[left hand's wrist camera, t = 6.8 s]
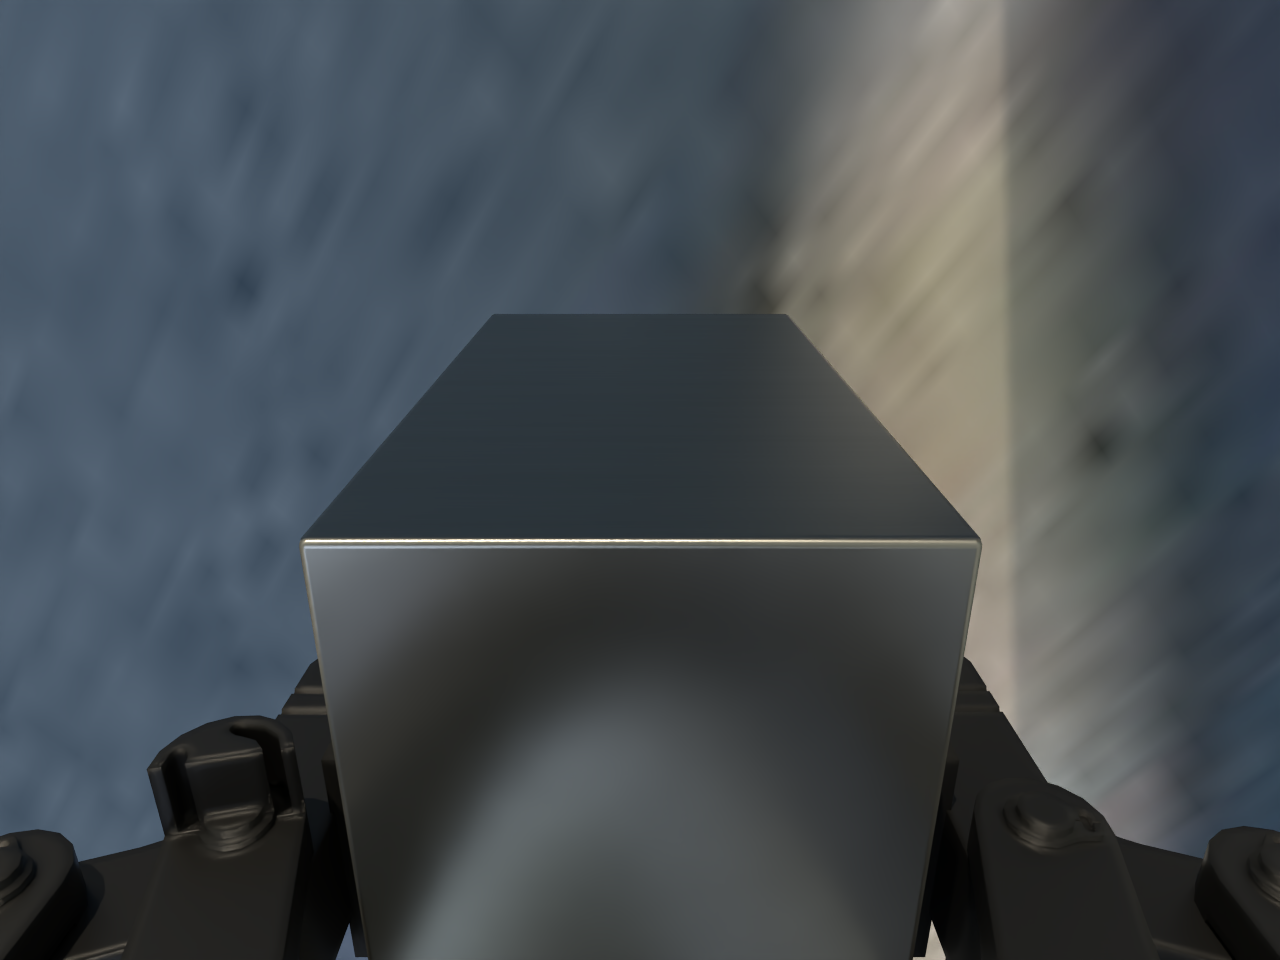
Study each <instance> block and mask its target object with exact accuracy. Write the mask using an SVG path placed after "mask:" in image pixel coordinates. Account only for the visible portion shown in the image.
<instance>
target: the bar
mask: <svg viewBox="0 0 1280 960" xmlns="http://www.w3.org/2000/svg"><path fill="white" fill-rule="evenodd" d="M299 548H300V554H301V560H302V566H303V572H304V578H305V584H306V590H307V596H308V602H309V608H310V614H311V620H312V626H313V632H314V638H315V644H316V650H317V656H318V661H319V667H320V673H321V679H322V685H323V691H324V697H325V703H326V709H327V715H328V721H329V727H330V733H331V739H332V745H333V751H334V757H335V763H336V769H337V775H338V781H339V787H340V793H341V799H342V805H343V811H344V817H345V823H346V829H347V835H348V841H349V847H350V853H351V859H352V865H353V871H354V877H355V883H356V889H357V895H358V901H359V907H360V913H361V918H362V924H363V930H364V936H365V942H366V948H367V954H368V960H913V954H914V948H915V942H916V937H917V931H918V925H919V919H920V913H921V907H922V901H923V895H924V889H925V883H926V877H927V871H928V865H929V859H930V853H931V847H932V841H933V835H934V829H935V823H936V818H937V812H938V806H939V800H940V794H941V788H942V782H943V776H944V770H945V764H946V758H947V752H948V746H949V740H950V734H951V728H952V722H953V716H954V710H955V704H956V698H957V693H958V687H959V681H960V675H961V669H962V663H963V657H964V651H965V645H966V639H967V633H968V627H969V621H970V615H971V609H972V603H973V597H974V591H975V585H976V579H977V574H978V568H979V562H980V556H981V550H982V543H981V539H980V537H979V536H978V535H977V534H976V533H975V532H974V530H973V529H972V528H971V527H970V526H969V525H968V524H967V522H966V521H965V520H964V519H963V518H962V517H961V515H960V514H959V513H958V512H957V511H956V510H955V508H954V507H953V506H952V505H951V504H950V503H949V501H948V500H947V499H946V498H945V497H944V496H943V494H942V493H941V492H940V491H939V490H938V489H937V488H936V486H935V485H934V484H933V483H932V482H931V481H930V479H929V478H928V477H927V476H926V475H925V474H924V472H923V471H922V470H921V469H920V468H919V467H918V465H917V464H916V463H915V462H914V461H913V460H912V458H911V457H910V456H909V455H908V454H907V453H906V452H905V450H904V449H903V448H902V447H901V446H900V445H899V443H898V442H897V441H896V440H895V439H894V438H893V436H892V435H891V434H890V433H889V432H888V431H887V429H886V428H885V427H884V426H883V425H882V424H881V422H880V421H879V420H878V419H877V418H876V417H875V416H874V414H873V413H872V412H871V411H870V410H869V409H868V407H867V406H866V405H865V404H864V403H863V402H862V400H861V399H860V398H859V397H858V396H857V395H856V393H855V392H854V391H853V390H852V389H851V388H850V386H849V385H848V384H847V383H846V382H845V381H844V380H843V378H842V377H841V376H840V375H839V374H838V373H837V371H836V370H835V369H834V368H833V367H832V366H831V364H830V363H829V362H828V361H827V360H826V359H825V357H824V356H823V355H822V354H821V353H820V352H819V350H818V349H817V348H816V347H815V346H814V345H813V344H812V342H811V341H810V340H809V339H808V338H807V337H806V335H805V334H804V333H803V332H802V331H801V330H800V328H799V327H798V326H797V325H796V324H795V323H794V321H793V320H792V319H791V318H790V317H789V316H788V315H786V314H494V315H492V316H491V317H490V318H489V320H488V321H487V322H486V323H485V324H484V325H483V327H482V328H481V329H480V330H479V331H478V332H477V334H476V335H475V336H474V337H473V338H472V339H471V341H470V342H469V343H468V344H467V345H466V346H465V348H464V349H463V350H462V351H461V352H460V353H459V355H458V356H457V357H456V358H455V359H454V360H453V362H452V363H451V364H450V365H449V366H448V367H447V369H446V370H445V371H444V372H443V373H442V374H441V376H440V377H439V378H438V379H437V380H436V381H435V383H434V384H433V385H432V386H431V387H430V388H429V390H428V391H427V392H426V393H425V394H424V395H423V397H422V398H421V399H420V400H419V401H418V402H417V404H416V405H415V406H414V407H413V408H412V409H411V411H410V412H409V413H408V414H407V415H406V416H405V418H404V419H403V420H402V421H401V422H400V423H399V425H398V426H397V427H396V428H395V429H394V430H393V432H392V433H391V434H390V435H389V436H388V437H387V439H386V440H385V441H384V442H383V443H382V444H381V446H380V447H379V448H378V449H377V450H376V451H375V453H374V454H373V455H372V456H371V457H370V458H369V460H368V461H367V462H366V463H365V464H364V465H363V467H362V468H361V469H360V470H359V471H358V472H357V474H356V475H355V476H354V477H353V478H352V479H351V481H350V482H349V483H348V484H347V485H346V486H345V488H344V489H343V490H342V491H341V492H340V493H339V495H338V496H337V497H336V498H335V499H334V500H333V502H332V503H331V504H330V505H329V506H328V507H327V509H326V510H325V511H324V512H323V513H322V514H321V516H320V517H319V518H318V519H317V520H316V521H315V523H314V524H313V525H312V526H311V527H310V528H309V530H308V531H307V532H306V533H305V534H304V535H303V537H302V538H301V540H300V544H299Z"/></svg>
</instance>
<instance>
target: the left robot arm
mask: <svg viewBox="0 0 1280 960" xmlns="http://www.w3.org/2000/svg"><path fill="white" fill-rule="evenodd" d="M147 772H148V776H149V779H150V783H151V787H152V790H153V794H154V798H155V801H156V805H157V809H158V812H159V816H160V820H161V823H162V827H163V831H164V834H165V837H164V840H163V841H159V842H156V843H153V844H150V845H147V846H143V847H140V848H136V849H132V850H127V851H123V852H119V853H115V854H110V855H106V856H102V857H98V858H93V859H89V860H85V861H81V862H78V859H77V856H76V853H75V850H74V847H73V844H72V843H71V842H70V841H68V840H67V839H66V838H65V837H64V836H63V835H62V834H60V833H56V832H50V831H45V830H39V829H37V830H30V831H22V832H15V833H9V834H6V835H3V836H0V960H335V959H336V957H337V954H338V951H339V949H340V946H341V943H342V941H343V938H344V935H345V933H346V930H347V927H348V925H349V923H350V929H351V935H352V940H353V946H354V952H355V957H368V954H367V948H366V942H365V936H364V930H363V924H362V918H361V913H360V907H359V901H358V895H357V889H356V883H355V877H354V871H353V865H352V859H351V853H350V847H349V841H348V835H347V829H346V823H345V817H344V811H343V805H342V799H341V793H340V787H339V781H338V775H337V769H336V763H335V757H334V751H333V745H332V739H331V733H330V727H329V721H328V715H327V709H326V703H325V697H324V691H323V685H322V679H321V673H320V667H319V661H318V659H317V660H315V661H314V662H313V663H311V664H310V666H309V667H308V669H307V670H306V672H305V674H304V675H303V677H302V678H301V680H300V681H299V683H298V685H297V686H296V688H295V693H294V694H291V696H290V697H289V699H288V700H287V702H286V704H285V705H284V707H283V708H282V714H281V715H278V716H277V718H276V719H271V718H267V717H263V716H234V717H230V718H226V719H222V720H218V721H214V722H209V723H206V724H204V725H202V726H200V727H198V728H195V729H193V730H191V731H189V732H187V733H185V734H182V735H181V736H179V737H178V738H177V739H175V740H174V741H173V742H171V743H170V744H169V745H167V746H166V747H165V748H163V749H162V750H161V751H160V752H159V753H158V754H157V756H156V757H155V759H154V760H153V761H152V763H151V764H150V766H149V767H148V768H147ZM931 921H932V922H933V924H934V927H935V930H936V932H937V935H938V938H939V940H940V943H941V946H942V948H943V951H944V954H945V956H946V959H945V960H1280V832H1277V831H1274V830H1269V829H1262V828H1254V827H1247V826H1242V827H1236V828H1230V829H1224V830H1221V831H1220V832H1219V833H1218V834H1216V835H1215V836H1214V837H1213V838H1212V839H1211V840H1210V841H1209V843H1208V846H1207V849H1206V852H1205V855H1204V858H1203V859H1202V858H1197V857H1193V856H1189V855H1185V854H1180V853H1176V852H1172V851H1167V850H1163V849H1159V848H1155V847H1150V846H1146V845H1142V844H1139V843H1135V842H1132V841H1129V840H1126V839H1122V838H1119V837H1117V836H1115V834H1114V832H1113V831H1112V829H1111V827H1110V826H1109V824H1108V823H1107V821H1106V819H1105V818H1104V816H1103V815H1102V814H1101V813H1099V812H1098V811H1097V810H1096V809H1095V808H1093V807H1092V806H1091V805H1090V804H1089V803H1088V802H1086V801H1085V800H1084V799H1083V798H1081V797H1079V796H1077V795H1075V794H1073V793H1071V792H1069V791H1067V790H1065V789H1064V788H1062V787H1060V786H1057V785H1054V784H1050V783H1047V781H1046V779H1045V778H1044V776H1043V775H1042V773H1041V772H1040V770H1039V768H1038V767H1037V765H1036V764H1035V762H1034V761H1033V759H1032V757H1031V756H1030V754H1029V753H1028V751H1027V750H1026V748H1025V746H1024V745H1023V743H1022V742H1021V740H1020V739H1019V737H1018V735H1017V734H1016V732H1015V731H1014V729H1013V727H1012V726H1011V724H1010V723H1009V721H1008V720H1007V718H1006V716H1005V715H1004V713H1003V712H1000V711H999V705H998V704H997V702H996V701H995V699H994V698H993V696H992V694H991V693H990V691H987V690H986V685H985V683H984V682H983V680H982V679H981V677H980V676H979V674H978V672H977V671H976V669H975V668H974V666H973V665H972V663H971V662H970V661H969V660H968V659H966V658H965V657H963V663H962V669H961V675H960V681H959V687H958V693H957V698H956V704H955V710H954V716H953V722H952V728H951V734H950V740H949V746H948V752H947V758H946V764H945V770H944V776H943V782H942V788H941V794H940V800H939V806H938V812H937V818H936V823H935V829H934V835H933V841H932V847H931V853H930V859H929V865H928V871H927V877H926V883H925V889H924V895H923V901H922V907H921V913H920V919H919V925H918V931H917V937H916V942H915V948H914V954H913V957H925V955H926V949H927V943H928V938H929V932H930V926H931Z"/></svg>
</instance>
